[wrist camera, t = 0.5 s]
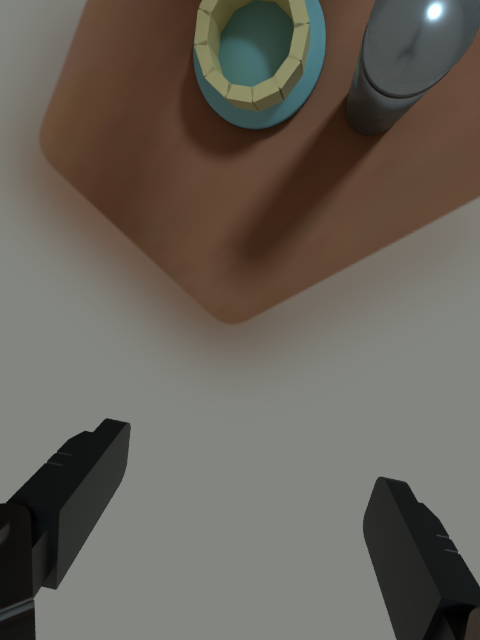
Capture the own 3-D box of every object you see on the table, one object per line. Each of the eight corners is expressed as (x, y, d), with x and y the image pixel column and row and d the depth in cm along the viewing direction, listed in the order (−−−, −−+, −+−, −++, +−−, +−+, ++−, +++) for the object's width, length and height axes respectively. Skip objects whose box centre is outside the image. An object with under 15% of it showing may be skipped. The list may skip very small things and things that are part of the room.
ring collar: (178, 14, 28) (158, -13, 24) (305, -62, 25) (302, -107, 21) (221, 148, 31) (208, 142, 27) (339, 97, 28) (342, 82, 24)
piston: (339, 85, 27) (356, -12, 15) (399, 59, 26) (477, -76, 13) (351, 145, 29) (377, 103, 16) (410, 122, 27) (490, 56, 14)
